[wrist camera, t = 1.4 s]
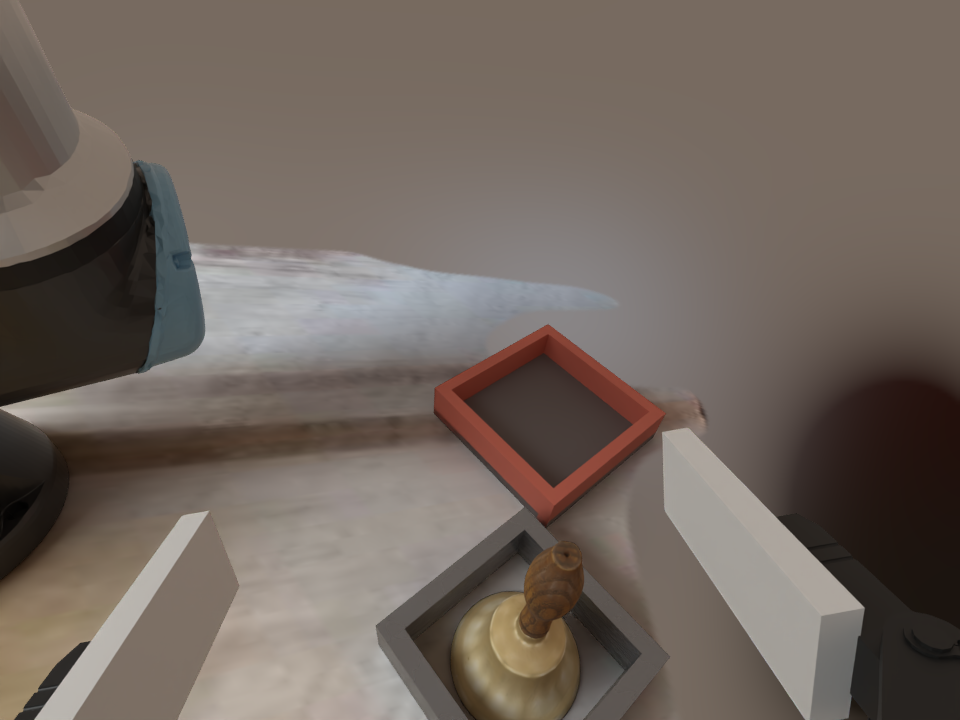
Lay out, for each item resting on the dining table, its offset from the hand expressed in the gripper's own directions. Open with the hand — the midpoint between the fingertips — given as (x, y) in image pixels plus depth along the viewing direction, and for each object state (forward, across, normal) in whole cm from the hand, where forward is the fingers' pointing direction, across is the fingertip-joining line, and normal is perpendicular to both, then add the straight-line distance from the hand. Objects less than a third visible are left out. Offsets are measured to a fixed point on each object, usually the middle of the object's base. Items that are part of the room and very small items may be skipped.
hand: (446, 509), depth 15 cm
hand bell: (+12, +1, -21) cm, 24 cm away
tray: (+29, +7, -14) cm, 32 cm away
